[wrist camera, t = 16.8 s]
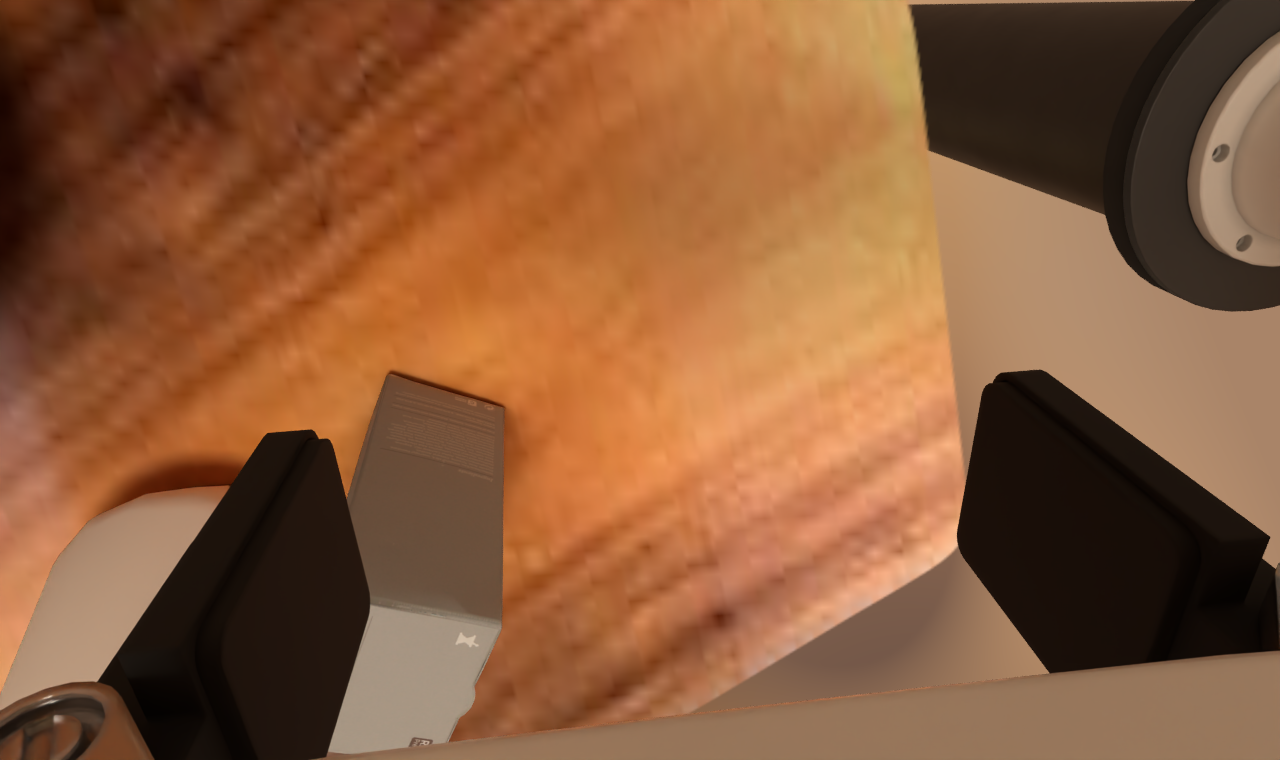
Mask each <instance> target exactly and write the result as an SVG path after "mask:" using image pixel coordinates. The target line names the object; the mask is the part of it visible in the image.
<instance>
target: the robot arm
mask: <svg viewBox="0 0 1280 760" xmlns="http://www.w3.org/2000/svg"><path fill="white" fill-rule="evenodd" d="M1187 186H1188V202H1189V206H1190V209H1191V213H1192V216H1193V220H1194V222H1195V224H1196V226H1197V228H1198V229H1199V231H1200V233H1201V234H1202V236H1203V238H1205V239H1206V240H1207V241H1208V242H1209V243H1210V244H1211V245H1212V246H1213V247H1214V248H1215V249H1216V250H1218V251H1220V252H1222V253H1224V254H1226V255H1228V256H1230V257H1231V258H1234V259H1238V260H1241V261H1244V262H1247V263H1250V264H1252V265H1261V266H1270V267H1275V266H1280V31H1279V32H1278V33H1276V34H1275V35H1273V36H1272V37H1270V38H1269V39H1267V40H1266V41H1265V42H1264V43H1263V44H1262V45H1261V46H1260V47H1258V48H1257V49H1256V50H1255V51H1254V52H1253V53H1252V54H1251V55H1250V56H1249V57H1247V58H1246V59H1245V60H1244V61H1243V63H1242V64H1241V65H1240V66H1239V67H1238V69H1237V70H1236V71H1235V72H1234V73H1233V74H1232V76H1231V77H1230V78H1229V79H1228V80H1227V82H1226V83H1225V84H1224V86H1223V87H1222V89H1221V90H1220V92H1219V94H1218V95H1217V97H1216V98H1215V100H1214V101H1213V103H1212V104H1211V106H1210V108H1209V110H1208V112H1207V114H1206V116H1205V118H1204V120H1203V122H1202V125H1201V127H1200V129H1199V131H1198V133H1197V137H1196V140H1195V143H1194V147H1193V150H1192V153H1191V157H1190V163H1189V171H1188V179H1187ZM1269 539H1270V536H1268V535H1267V534H1265V533H1264V532H1263V531H1262V530H1260V529H1259V528H1257V527H1256V526H1255V525H1253V524H1252V523H1251V522H1249V521H1248V520H1247V519H1245V518H1244V517H1243V516H1241V515H1240V514H1238V513H1237V512H1236V511H1234V510H1233V509H1232V508H1230V507H1229V506H1228V505H1226V504H1225V503H1224V502H1222V501H1221V500H1219V499H1218V498H1217V497H1215V496H1214V495H1213V494H1211V493H1210V492H1209V491H1207V490H1206V489H1205V488H1203V487H1202V486H1200V485H1199V484H1198V483H1196V482H1195V481H1194V480H1192V479H1191V478H1190V477H1188V476H1187V475H1185V474H1184V473H1183V472H1181V471H1180V470H1179V469H1177V468H1176V467H1175V466H1173V465H1172V464H1170V463H1169V462H1168V461H1166V460H1165V459H1164V458H1162V457H1161V456H1160V455H1158V454H1157V453H1156V452H1154V451H1153V450H1151V449H1150V448H1149V447H1147V446H1146V445H1145V444H1143V443H1142V442H1141V441H1139V440H1138V439H1136V438H1135V437H1134V436H1133V435H1131V434H1130V433H1128V432H1127V431H1126V430H1124V429H1123V428H1122V427H1120V426H1119V425H1118V424H1116V423H1115V422H1113V421H1112V420H1111V419H1109V418H1108V417H1107V416H1105V415H1104V414H1103V413H1101V412H1100V411H1099V410H1097V409H1096V408H1094V407H1093V406H1092V405H1090V404H1089V403H1087V402H1086V401H1085V400H1083V399H1082V398H1081V397H1080V396H1078V395H1077V394H1075V393H1074V392H1073V391H1071V390H1070V389H1069V388H1067V387H1066V386H1064V385H1063V384H1062V383H1060V382H1059V381H1058V380H1056V379H1055V378H1054V377H1052V376H1051V375H1050V374H1048V373H1047V372H1045V371H1043V370H1029V371H1018V372H1005V373H1000V374H999V375H997V376H996V378H995V379H994V381H993V383H989V384H988V385H986V386H985V388H984V390H983V392H982V396H981V402H980V408H979V413H978V419H977V424H976V430H975V436H974V441H973V446H972V452H971V458H970V463H969V469H968V474H967V480H966V485H965V491H964V496H963V502H962V507H961V513H960V519H959V524H958V530H957V542H958V546H959V549H960V552H961V554H962V556H963V558H964V559H965V561H966V562H967V563H968V564H969V566H970V567H971V568H972V570H973V571H974V573H975V574H976V575H977V577H978V578H979V579H980V580H981V582H982V583H983V585H984V586H985V587H986V588H987V590H988V591H989V593H990V594H991V595H992V597H993V598H994V599H995V601H996V602H997V603H998V605H999V606H1000V607H1001V609H1002V610H1003V611H1004V613H1005V614H1006V615H1007V617H1008V618H1009V619H1010V621H1011V622H1012V623H1013V625H1014V626H1015V627H1016V629H1017V630H1018V631H1019V633H1020V634H1021V635H1022V637H1023V638H1024V639H1025V641H1026V642H1027V643H1028V645H1029V646H1030V647H1031V649H1032V650H1033V651H1034V653H1035V654H1036V655H1037V657H1038V658H1039V659H1040V661H1041V662H1042V663H1043V665H1044V666H1045V667H1046V669H1047V670H1048V671H1049V673H1050V674H1042V675H1032V676H1023V677H1014V678H1005V679H996V680H987V681H977V682H969V683H959V684H950V685H942V686H931V687H923V688H914V689H904V690H895V691H887V692H878V693H869V694H860V695H851V696H842V697H833V698H825V699H816V700H807V701H798V702H789V703H781V704H772V705H763V706H754V707H745V708H737V709H728V710H719V711H710V712H701V713H693V714H684V715H675V716H666V717H658V718H649V719H641V720H633V721H624V722H616V723H607V724H599V725H590V726H582V727H573V728H565V729H557V730H548V731H540V732H531V733H523V734H515V735H506V736H498V737H489V738H481V739H473V740H464V741H456V742H447V743H439V744H430V745H422V746H414V747H405V748H397V749H388V750H380V751H372V752H363V753H355V754H346V755H339V756H332V757H326V756H327V753H328V750H329V746H330V743H331V740H332V737H333V733H334V730H335V727H336V723H337V720H338V717H339V713H340V710H341V707H342V704H343V700H344V697H345V694H346V690H347V687H348V684H349V681H350V677H351V674H352V671H353V667H354V664H355V661H356V657H357V654H358V651H359V648H360V644H361V641H362V638H363V634H364V631H365V628H366V624H367V621H368V618H369V613H370V592H369V587H368V583H367V579H366V575H365V571H364V567H363V563H362V559H361V555H360V551H359V547H358V543H357V539H356V535H355V531H354V527H353V523H352V519H351V515H350V511H349V508H348V504H347V500H346V496H345V492H344V488H343V484H342V480H341V476H340V472H339V468H338V464H337V460H336V456H335V452H334V448H333V445H332V443H331V441H330V440H329V439H318V436H317V435H316V433H315V432H314V431H313V430H299V431H287V432H275V433H267V434H266V435H265V436H264V437H263V439H262V440H261V442H260V443H259V445H258V446H257V448H256V449H255V451H254V452H253V453H252V455H251V456H250V458H249V459H248V461H247V462H246V464H245V465H244V467H243V468H242V470H241V471H240V473H239V474H238V476H237V477H236V479H235V480H234V482H233V483H232V484H231V486H230V487H229V489H228V490H227V492H226V493H225V495H224V496H223V498H222V499H221V501H220V502H219V504H218V505H217V507H216V508H215V510H214V511H213V513H212V514H211V516H210V517H209V518H208V520H207V521H206V523H205V524H204V526H203V527H202V529H201V530H200V532H199V533H198V535H197V536H196V538H195V539H194V541H193V542H192V543H191V544H190V545H189V547H188V548H187V550H186V551H185V553H184V554H183V556H182V557H181V559H180V560H179V562H178V563H177V565H176V566H175V568H174V569H173V571H172V572H171V574H170V575H169V576H168V578H167V579H166V581H165V582H164V584H163V585H162V587H161V588H160V590H159V591H158V593H157V594H156V596H155V597H154V599H153V600H152V602H151V603H150V604H149V606H148V607H147V609H146V610H145V612H144V613H143V615H142V616H141V618H140V619H139V621H138V622H137V624H136V625H135V627H134V628H133V630H132V631H131V632H130V634H129V635H128V637H127V638H126V640H125V641H124V643H123V644H122V646H121V647H120V649H119V650H118V652H117V653H116V655H115V656H114V658H113V659H112V661H111V662H110V663H109V665H108V666H107V668H106V669H105V671H104V672H103V674H102V675H101V677H100V678H99V680H98V681H97V682H95V681H88V682H70V683H66V684H62V685H58V686H54V687H50V688H46V689H43V690H41V691H39V692H36V693H34V694H31V695H29V696H27V697H24V698H22V699H20V700H17V701H16V702H14V703H12V704H11V705H9V706H7V707H5V708H4V709H2V710H0V760H1280V563H1279V564H1278V565H1277V568H1276V569H1275V568H1274V567H1272V566H1271V565H1270V564H1268V563H1267V562H1266V561H1265V560H1263V559H1262V557H1263V554H1264V552H1265V549H1266V547H1267V544H1268V542H1269Z"/></svg>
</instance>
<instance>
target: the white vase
mask: <svg viewBox="0 0 1280 760" xmlns="http://www.w3.org/2000/svg"><path fill="white" fill-rule="evenodd" d="M229 487H230V486H229V485H225V486H208V487H192V488H185V489H178V490H171V491H163V492H156V493H149V494H145V495H142V496H140V497H138V498H135V499H133V500H131V501H129V502H126V503H124V504H122V505H119V506H117V507H115V508H112V509H110V510H108V511H105V512H103V513H101V514H99V515H97V516H96V517H94V518H93V519H91V520H89V521H88V522H87V523H86V525H85V526H84V527H83V528H82V529H81V530H80V532H79V533H78V534H77V535H76V536H75V537H74V539H73V540H72V541H71V542H70V543H69V544H68V546H67V547H66V548H65V549H64V550H63V551H62V553H61V554H60V555H59V556H58V558H57V560H56V561H55V563H54V565H53V566H52V569H51V571H50V574H49V576H48V578H47V581H46V583H45V586H44V588H43V591H42V593H41V596H40V598H39V601H38V603H37V605H36V608H35V610H34V613H33V615H32V618H31V620H30V623H29V625H28V628H27V630H26V632H25V635H24V637H23V640H22V642H21V645H20V647H19V650H18V652H17V654H16V657H15V659H14V662H13V664H12V667H11V669H10V672H9V674H8V677H7V679H6V681H5V684H4V686H3V689H2V691H1V694H0V710H2V709H4V708H5V707H7V706H9V705H11V704H12V703H14V702H16V701H17V700H20V699H22V698H24V697H27V696H29V695H31V694H34V693H36V692H39V691H41V690H43V689H46V688H50V687H54V686H58V685H62V684H66V683H70V682H88V681H95V682H97V681H98V680H99V678H100V677H101V675H102V674H103V672H104V671H105V669H106V668H107V666H108V665H109V663H110V662H111V661H112V659H113V658H114V656H115V655H116V653H117V652H118V650H119V649H120V647H121V646H122V644H123V643H124V641H125V640H126V638H127V637H128V635H129V634H130V632H131V631H132V630H133V628H134V627H135V625H136V624H137V622H138V621H139V619H140V618H141V616H142V615H143V613H144V612H145V610H146V609H147V607H148V606H149V604H150V603H151V602H152V600H153V599H154V597H155V596H156V594H157V593H158V591H159V590H160V588H161V587H162V585H163V584H164V582H165V581H166V579H167V578H168V576H169V575H170V574H171V572H172V571H173V569H174V568H175V566H176V565H177V563H178V562H179V560H180V559H181V557H182V556H183V554H184V553H185V551H186V550H187V548H188V547H189V545H190V544H191V543H192V542H193V541H194V539H195V538H196V536H197V535H198V533H199V532H200V530H201V529H202V527H203V526H204V524H205V523H206V521H207V520H208V518H209V517H210V516H211V514H212V513H213V511H214V510H215V508H216V507H217V505H218V504H219V502H220V501H221V499H222V498H223V496H224V495H225V493H226V492H227V490H228V489H229Z"/></svg>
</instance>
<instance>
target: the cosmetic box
mask: <svg viewBox="0 0 1280 760" xmlns="http://www.w3.org/2000/svg"><path fill="white" fill-rule="evenodd" d="M503 484H504V408H503V407H500V406H496V405H493V404H489V403H486V402H483V401H479V400H476V399H472V398H468V397H465V396H461V395H458V394H454V393H451V392H447V391H444V390H441V389H437V388H434V387H431V386H427V385H424V384H420V383H417V382H413V381H410V380H407V379H405V378H401V377H399V376H396V375H393V374H389V375H387V376H386V379H385V381H384V384H383V387H382V390H381V392H380V395H379V398H378V401H377V403H376V406H375V409H374V412H373V415H372V418H371V421H370V424H369V427H368V430H367V433H366V436H365V439H364V442H363V446H362V449H361V452H360V456H359V459H358V463H357V466H356V469H355V473H354V476H353V479H352V483H351V486H350V490H349V493H348V497H347V504H348V508H349V511H350V515H351V519H352V523H353V527H354V531H355V535H356V539H357V543H358V547H359V551H360V555H361V559H362V563H363V567H364V571H365V575H366V579H367V583H368V587H369V592H370V613H369V618H368V621H367V624H366V628H365V631H364V634H363V638H362V641H361V644H360V648H359V651H358V654H357V657H356V661H355V664H354V667H353V671H352V674H351V677H350V681H349V684H348V687H347V690H346V694H345V697H344V700H343V704H342V707H341V710H340V713H339V717H338V720H337V723H336V727H335V730H334V733H333V737H332V740H331V743H330V746H329V750H328V752H334V753H342V754H355V753H363V752H372V751H380V750H388V749H397V748H405V747H414V746H422V745H430V744H439V743H447V742H448V741H449V739H450V737H451V735H452V733H453V731H454V729H455V726H456V724H457V722H458V720H459V718H460V717H461V716H463V715H464V714H465V713H466V712H467V711H468V710H469V709H470V708H471V706H472V704H473V702H474V698H475V689H474V686H475V684H476V682H477V681H478V679H479V677H480V675H481V672H482V670H483V668H484V666H485V664H486V662H487V660H488V658H489V655H490V653H491V651H492V649H493V647H494V645H495V643H496V640H497V638H498V636H499V634H500V632H501V628H502V592H503Z"/></svg>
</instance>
